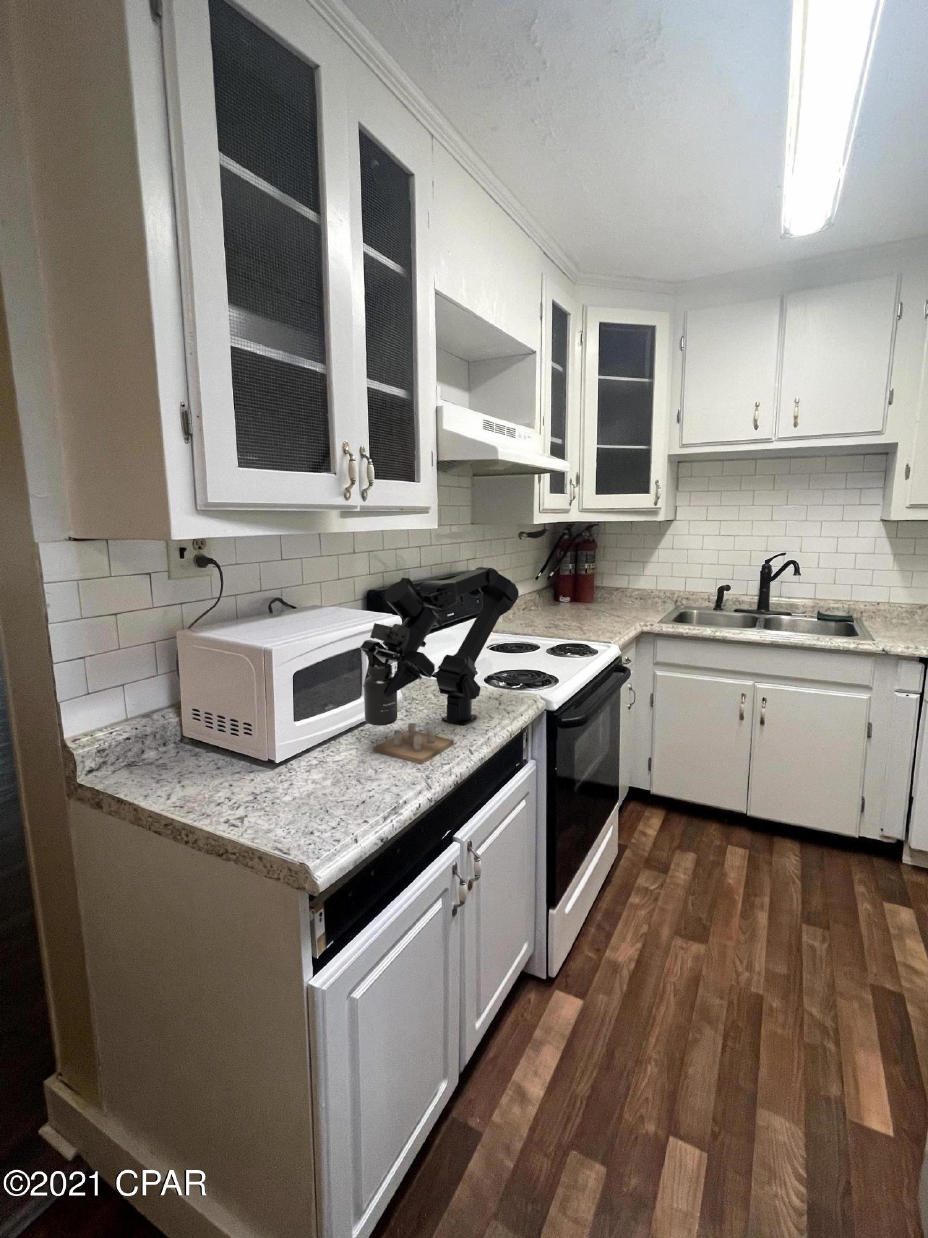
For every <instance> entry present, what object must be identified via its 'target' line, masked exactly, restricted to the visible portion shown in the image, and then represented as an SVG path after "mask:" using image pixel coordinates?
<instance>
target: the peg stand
mask: <svg viewBox="0 0 928 1238" xmlns="http://www.w3.org/2000/svg"><path fill="white" fill-rule="evenodd" d="M416 725H417V724H416V723H414V722H410V723H408V725H407V726H408V727H407V730H404V731H402V730H401V729H400V730H398V729H396V730H394V731H393V737H391V738H390V739H388V740H385V741H384V742H382V743H380V744H378V745H376V746H374V752H375V753H379V754H382V755H385V756H389V757H393V758H396V759H401V760H404V761H408V762H412V763H415V762H416V763H415V764H420V765H423V764H425V763H426V762H428V761H429V759H430V760H431V759H432V758H434V757H436V756H438V755H439V754H441V753H442V752H444V751H445V749H446V750H447V749H449V748H450V747H453V746H454V744H455V743H454V742H455V741H454V739H450V738H447V737H443V736H439V735H438V736H437V735H436V730H435V727H427V730H426V731H427V733H425V732H421V731H417V729H416V728H417V727H416ZM437 754H438V755H437ZM424 762H425V763H424Z"/></svg>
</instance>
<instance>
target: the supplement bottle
mask: <svg viewBox="0 0 928 1238" xmlns="http://www.w3.org/2000/svg"><path fill="white" fill-rule="evenodd" d="M367 669H368V675H369V677H368V678H367V679H366V680H365V679H364V681H365V682H364V681H363V685H364V687H363V697H364V699H363V700H364V701H363V703H364V721H365V722H366V723H367V724H369V725H371V726H375V727H376V726H380V727H381V726H388V725H389V726H390V725H392V724H394V723H395V722H397V720H398V691H397V692H395V693H394V694H392V695H391V696H389V697H387V696H386V695H385V691H386V689H387V687H388V685H389V683H390V682H391V680H392V678H393V676H392V675H393V667H392V664H391V663H390V662H388V663H373V664H370V665H369V667H368V666H367Z"/></svg>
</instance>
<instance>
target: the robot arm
mask: <svg viewBox="0 0 928 1238" xmlns="http://www.w3.org/2000/svg"><path fill="white" fill-rule="evenodd" d="M476 590H478V591H479V592H480V593H481V594H482V595H481V605H482V607H481V609H480V610H479V613H478V614H477V616H476V617H475V619H474V622H473V623H472V625H471V626H470V628H469V631H468V632H467V634H466V635H465V637H464V639H463V640H462V643H461V645H460V646H459V648H458V649H457V652H456V653H455V654H453V655H452V654H445V655H444V656H443V659H442V660H441V663H440V664H439V665H438V667H437V672H436V675H435V678H436V679H435V680H436V683H437V686H438V690H439V691H438V692H439V693H440V695H441V694H442V695H446V715H445V716H443V717H442V718H441V721H443V722H447V723H453V724H457V725H461V726H466V724H469V723H470V722H472V721H474V720H475V719H477V718H478V716H477V715H475V714H472V713H473V712H472V710H473V709H472V706H473V705H472V701H473V700H476V699H477V697H479V696H480V693H481V686H480V685H479V683H478V682H476V680H475V677H476V665H475V664H476V661H477V659H478V658H479V656H480V654H481V653H482V650H483V648H484V646H485V645H486V643H487V641H488V639H489V637H490V636H491V633H492V632H493V630H494V628H495V627H496V625H497V623H498V621H499V618H501V617H502V616H503V615H504V614H506V613H508V612H509V611H510V610H512V608H513V606H514V605H515V604H516V602H517V600H518V598H519V596H520V595H519V594H520V592H519V588H518V587H517V585H516V584H515V583H514V582H512V580H510V579H509V578H507V577H505V576H503V575H502V574H501V573H499V572H498V571H497V569H495V568H493V567H488V566H487V567H484V566H479V567H475V569H473V570H471V571H467V572H465V573H462V574H459V575H457V576H455V577H452V578H448V579H444V580H442V579H441V580H426V581H423V582H421V583H420V584H419V587H416V585H414V582H413V581H412V580H411V579H410V578H409V577H401V578H400V580H399V581H396V582H395V583H393V584H392V585H390V587H388V588H386V590H385V592H384V597H383V599H384V601H385V602H386V603H387V604H388V605H389V606H390V607H391V608H392V609H393V610H394V611H395V613H397V615H398V616H399V617H400V618H402V619H404V621H403V623H401V624H398V623H394V624H393V625H392V626H388V625H386V624H380V623H376V622H375V623H374V624H373V627H372V630H371V633H370V636H369V638H370V639H367V640H364V641H363V643H362V644H361V645H360V647H359V649H360V650H361V651H362V652H363V653H365V656H367V661H368V663H367V669H366V673H365V679H364V681H363V683H364V682H365V680H366V679H367V678H368V677H369V675H368V667H369V665H370V664H373V663H390V661H392V662H396V671H395V673H394V674H393V676H392V677H393V678H392V680H391V682H390V683H389V685H388V687H387V689H386V691H385V695H386V696H387V697H389V696H391V695H392V694H394V693H395V692H397V693H398V691H399V690H401V689H403V688H404V687H406V686H409V684H411V683H413V682H415V681H417V680H421V679H422V678H423V677H425V678H428V679H431V678H432V676H433V674H434V673H435V671H436V669H435V667H436V665H435V663H434V662H432V660H431V659H430V658H429V657H428V656H427V655H426V654H425V653H424V652H420V651H418V650H419V649H420V647H421V648H425V646H426V645H427V642H425V639H426V638H427V636H428V635H429V633H430V631H431V630H432V628H433V626H437V627H442V626H443V622H442V618H441V617H442V616H441V615H442V614H441V613H438V612H437V613H436V612H435V611H434V610H433V609H440V610H447V609H448V608H450V607H451V606H454V604H456V602H458V599H459V598H460V597H461V596H463V595H467V594H469V593H470V592H473V591H476ZM432 608H433V609H432ZM372 639H373V640H372ZM374 639H375V640H374ZM377 640H379V641H377ZM380 641H382V643H381V642H380ZM362 687H363V688H364V684H363V686H362Z"/></svg>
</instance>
